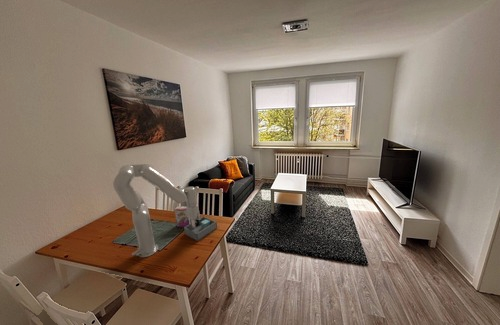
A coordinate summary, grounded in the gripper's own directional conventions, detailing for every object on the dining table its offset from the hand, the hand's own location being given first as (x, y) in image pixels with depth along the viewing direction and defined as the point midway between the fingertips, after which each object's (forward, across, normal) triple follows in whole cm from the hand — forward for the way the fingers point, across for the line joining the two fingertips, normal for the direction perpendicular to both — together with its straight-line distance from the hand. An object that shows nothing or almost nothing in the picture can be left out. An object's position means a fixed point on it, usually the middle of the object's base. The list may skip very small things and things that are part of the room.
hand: (195, 225), depth 149 cm
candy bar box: (+8, -19, +2) cm, 21 cm away
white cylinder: (+1, 0, 0) cm, 1 cm away
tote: (+8, 0, +5) cm, 9 cm away
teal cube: (+7, 0, +10) cm, 12 cm away
